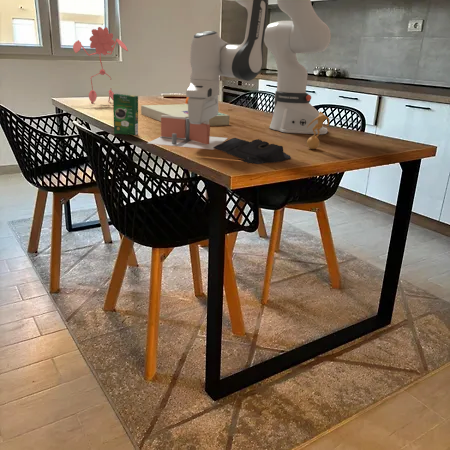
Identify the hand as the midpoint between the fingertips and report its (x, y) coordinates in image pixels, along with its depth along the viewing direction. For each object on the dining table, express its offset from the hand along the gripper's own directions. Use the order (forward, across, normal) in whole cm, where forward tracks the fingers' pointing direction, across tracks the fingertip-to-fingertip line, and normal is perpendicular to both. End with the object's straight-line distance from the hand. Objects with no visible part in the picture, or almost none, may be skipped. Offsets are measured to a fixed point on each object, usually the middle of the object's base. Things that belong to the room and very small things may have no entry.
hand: (204, 134), depth 145 cm
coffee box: (+3, -1, -28) cm, 28 cm away
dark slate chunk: (+4, +9, +17) cm, 19 cm away
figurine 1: (+4, -71, -73) cm, 101 cm away
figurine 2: (+4, -7, +34) cm, 35 cm away
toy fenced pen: (+3, 0, -5) cm, 6 cm away
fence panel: (+2, +2, -1) cm, 3 cm away
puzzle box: (+5, -44, -23) cm, 50 cm away
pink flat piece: (+2, -1, -10) cm, 10 cm away
